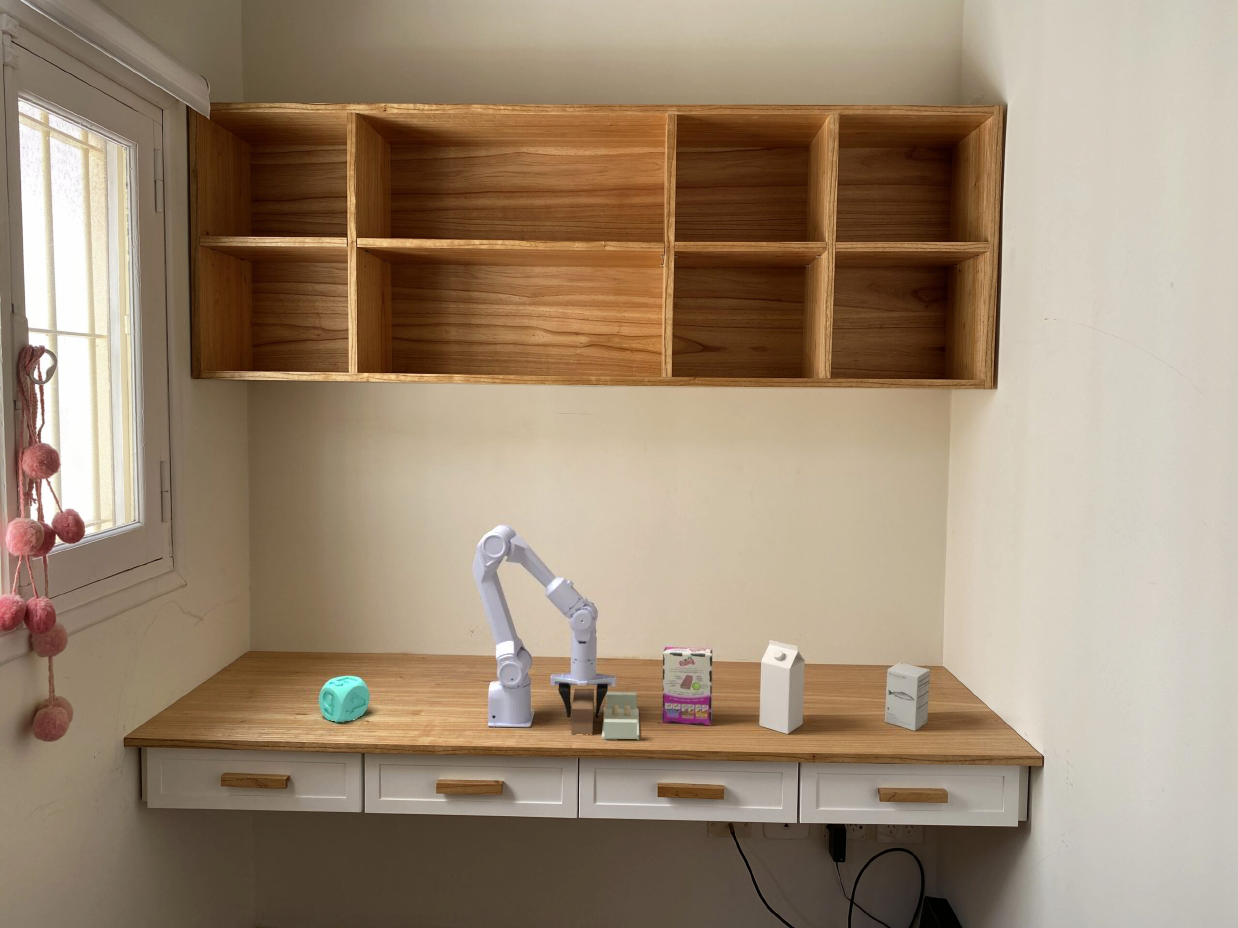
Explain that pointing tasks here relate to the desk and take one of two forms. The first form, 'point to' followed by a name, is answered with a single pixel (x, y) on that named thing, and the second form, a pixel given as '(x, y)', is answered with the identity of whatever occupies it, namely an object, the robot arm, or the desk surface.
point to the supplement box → (907, 696)
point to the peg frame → (621, 716)
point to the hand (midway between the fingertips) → (583, 716)
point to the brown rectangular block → (583, 711)
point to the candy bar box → (687, 686)
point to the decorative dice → (344, 698)
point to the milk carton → (782, 687)
